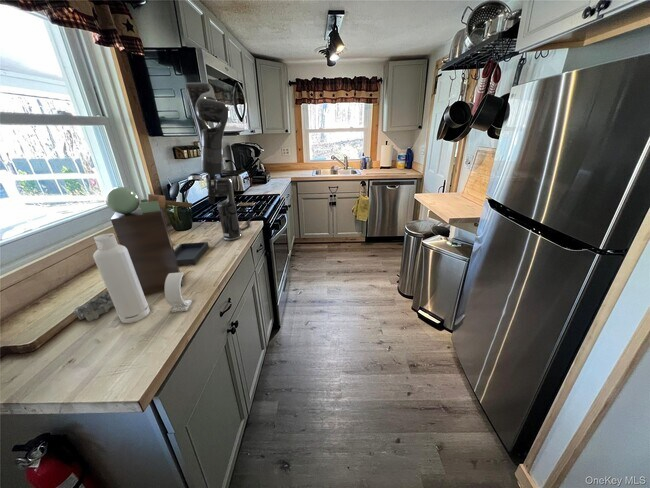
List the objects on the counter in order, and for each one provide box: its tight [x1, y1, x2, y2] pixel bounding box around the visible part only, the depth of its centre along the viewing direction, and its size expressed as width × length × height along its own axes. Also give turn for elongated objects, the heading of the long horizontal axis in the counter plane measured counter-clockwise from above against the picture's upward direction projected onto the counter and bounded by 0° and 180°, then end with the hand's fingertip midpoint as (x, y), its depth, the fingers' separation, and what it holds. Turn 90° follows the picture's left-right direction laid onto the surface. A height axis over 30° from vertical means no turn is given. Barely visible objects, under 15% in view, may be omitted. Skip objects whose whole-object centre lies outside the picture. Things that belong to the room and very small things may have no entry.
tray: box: [173, 241, 210, 267], centre depth 125 cm, size 20×14×3 cm
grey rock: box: [73, 292, 115, 322], centre depth 87 cm, size 11×8×4 cm
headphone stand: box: [164, 271, 193, 313], centre depth 86 cm, size 5×6×12 cm
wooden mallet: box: [146, 193, 193, 210], centre depth 94 cm, size 5×14×5 cm, turn 128°
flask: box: [104, 186, 161, 214], centre depth 88 cm, size 9×14×9 cm, turn 120°
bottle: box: [92, 232, 151, 324], centre depth 80 cm, size 8×8×28 cm
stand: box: [110, 208, 183, 297], centre depth 96 cm, size 10×14×30 cm
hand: (211, 199), depth 105 cm, fingers open, 8 cm apart
